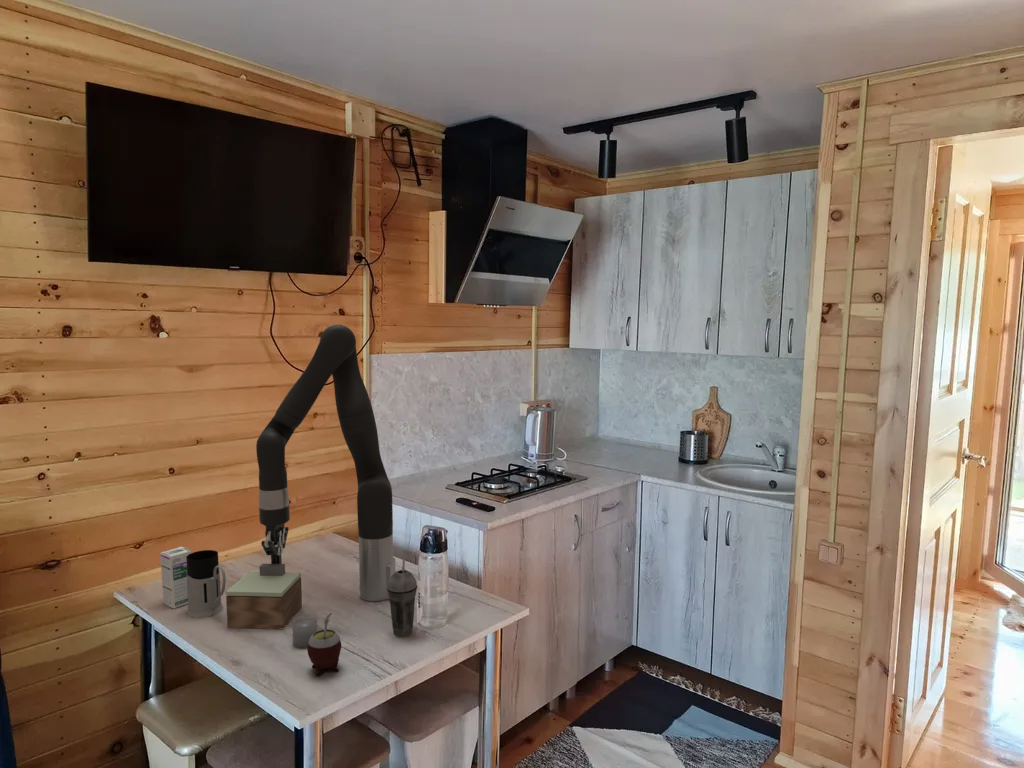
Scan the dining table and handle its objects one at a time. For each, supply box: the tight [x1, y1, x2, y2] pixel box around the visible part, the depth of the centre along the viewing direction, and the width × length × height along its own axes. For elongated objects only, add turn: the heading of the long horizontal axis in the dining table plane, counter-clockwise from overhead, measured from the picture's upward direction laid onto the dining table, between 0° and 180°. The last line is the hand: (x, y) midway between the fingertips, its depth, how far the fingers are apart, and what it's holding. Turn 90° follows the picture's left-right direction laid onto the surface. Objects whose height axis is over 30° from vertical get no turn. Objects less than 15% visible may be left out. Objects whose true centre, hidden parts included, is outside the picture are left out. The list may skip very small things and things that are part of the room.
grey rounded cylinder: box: [291, 616, 318, 650], centre depth 160 cm, size 6×6×5 cm
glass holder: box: [186, 549, 227, 619], centre depth 176 cm, size 9×14×15 cm, turn 54°
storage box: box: [225, 576, 303, 630], centre depth 174 cm, size 14×13×8 cm
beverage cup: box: [387, 551, 418, 638], centre depth 164 cm, size 7×7×20 cm
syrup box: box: [159, 546, 192, 610], centre depth 182 cm, size 6×6×14 cm
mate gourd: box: [306, 612, 342, 678], centre depth 147 cm, size 8×8×15 cm
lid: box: [225, 563, 302, 597], centre depth 173 cm, size 14×13×4 cm
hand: (276, 567), depth 181 cm, fingers closed
